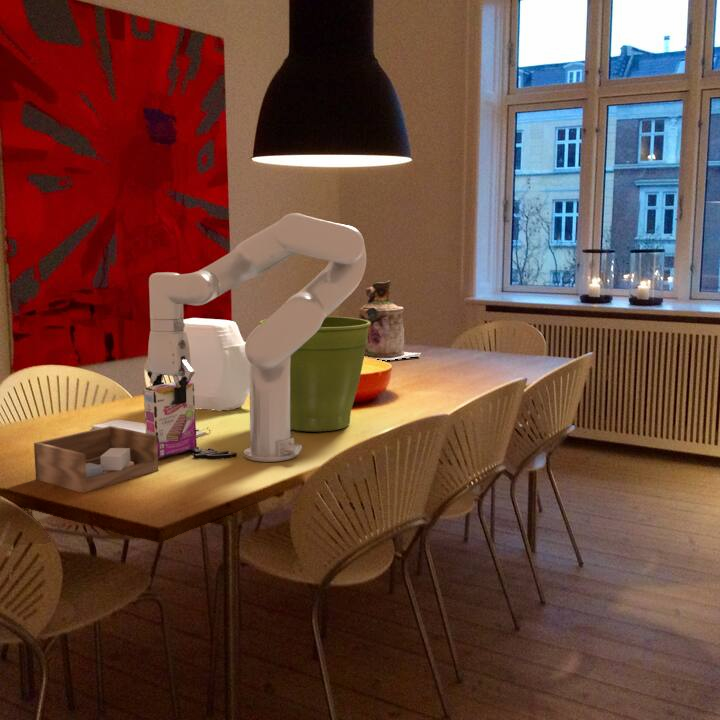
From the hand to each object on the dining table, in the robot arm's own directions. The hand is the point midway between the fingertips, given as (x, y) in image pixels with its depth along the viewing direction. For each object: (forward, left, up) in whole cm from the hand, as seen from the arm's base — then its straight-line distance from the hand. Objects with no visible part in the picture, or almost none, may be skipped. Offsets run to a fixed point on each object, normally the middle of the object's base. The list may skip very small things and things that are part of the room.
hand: (169, 401), depth 202 cm
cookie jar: (+47, -158, -14) cm, 166 cm away
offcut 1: (-3, +26, -13) cm, 29 cm away
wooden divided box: (+1, +21, -13) cm, 24 cm away
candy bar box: (0, 0, -13) cm, 13 cm away
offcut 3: (-3, +19, -14) cm, 24 cm away
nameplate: (0, -5, -14) cm, 15 cm away
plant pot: (-8, -45, -13) cm, 48 cm away
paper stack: (+31, -45, -13) cm, 56 cm away
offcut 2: (-4, +19, -11) cm, 22 cm away
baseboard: (+23, -14, -14) cm, 30 cm away
